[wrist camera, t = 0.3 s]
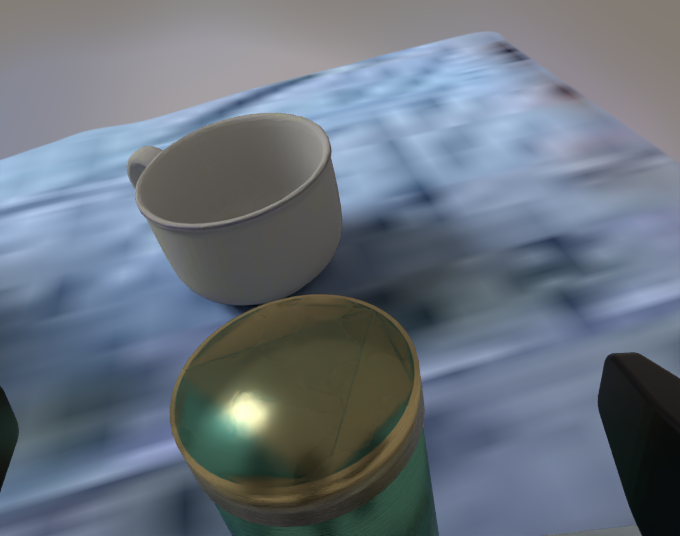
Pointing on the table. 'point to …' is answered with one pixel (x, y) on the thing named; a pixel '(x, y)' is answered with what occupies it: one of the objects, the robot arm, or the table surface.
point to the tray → (606, 532)
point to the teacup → (243, 206)
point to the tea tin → (308, 422)
